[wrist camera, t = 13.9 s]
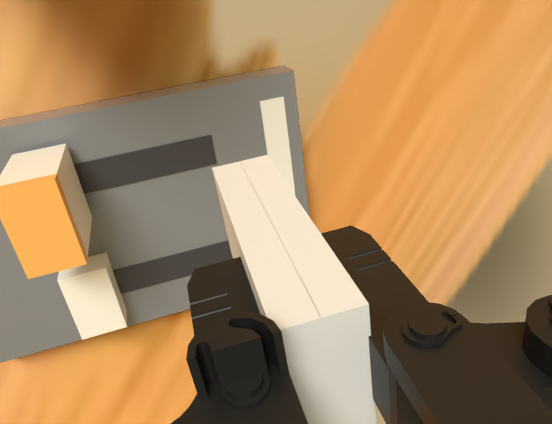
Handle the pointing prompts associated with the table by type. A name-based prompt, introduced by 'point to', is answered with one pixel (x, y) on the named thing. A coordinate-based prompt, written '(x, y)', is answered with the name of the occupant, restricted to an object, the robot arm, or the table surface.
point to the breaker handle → (45, 211)
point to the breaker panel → (144, 200)
